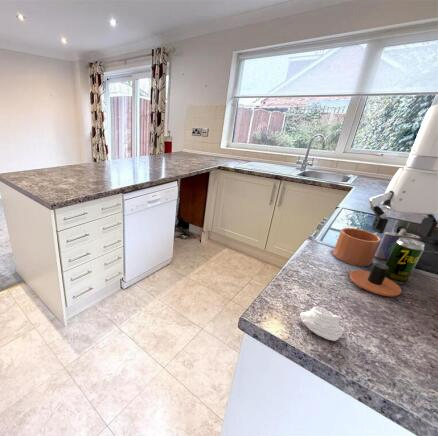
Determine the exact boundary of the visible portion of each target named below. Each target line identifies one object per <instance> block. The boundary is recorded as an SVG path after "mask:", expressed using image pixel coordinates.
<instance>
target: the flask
mask: <svg viewBox="0 0 438 436" xmlns="http://www.w3.org/2000/svg"><path fill="white" fill-rule="evenodd" d="M402 237H403V238H410V239H414V240H417V241H420V242H421V241H422V238H421V237H420V236H419V235H416V234H414V233H408V232H407V229H403V228H400V231H398V232H390V231H389V232H388V231H386V232H385V231H384V232H383V235H382V237H381V242H380V244H379V247H378V249H377V251H376V254H375V256H374V258H376V259H379V260H383V261H384V260H385V261H387V260H388V258H389V256H390V254H391V252H392V250H393V248H394V246H395V243H396V241H398V240H399V238H402Z"/></svg>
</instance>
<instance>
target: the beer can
mask: <svg viewBox="0 0 438 436" xmlns="http://www.w3.org/2000/svg"><path fill="white" fill-rule="evenodd" d="M425 246H426V245H425V243H424V242H422V241H421V240H420V241H417V240H414V239H410V238H403V237H402V238H399V240H398V241H396V243H395V246H394V248H393V250H392V252H391V254H390V256H389V258H388V260H386V262H385V265H386V266H388V267H389V271H388V273H387V275H386V278H388V279H390V280H392V281H393V282H395V283H396V284H397V285H403V284H405V283H407V282H408V281H409V279H410V277H411V275H412V273H413V271H414V269H415V268H416V266H417V264H418V262H419V260H420V259H421V257H422V254H423V252H424V250H425Z"/></svg>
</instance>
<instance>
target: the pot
mask: <svg viewBox="0 0 438 436" xmlns="http://www.w3.org/2000/svg"><path fill="white" fill-rule="evenodd" d="M381 240H382V237H380V236H379V235H377V234H376V233H373V232H370V231H367V230H364V229H359V228H353V227H343V228H341V229H340V232H339V234H338V238H337V240H336V243H335V246H334V249H333V256H334V257H335V258H336V259H338V260H340V261H342V262H344V263H346V264H350V265H354V266H358V267H369V266H370V265H371V264H372V263H373V261H374V258H375V257H374V256H375V254H376V251H377V249H378V247H379V244H380V242H381Z"/></svg>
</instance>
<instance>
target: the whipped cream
mask: <svg viewBox="0 0 438 436" xmlns="http://www.w3.org/2000/svg"><path fill="white" fill-rule="evenodd" d="M299 316H300V319H301V321H302V323H303V324H304V325H305V327H307V328H308V329H309V330H310V332H312V333H314V334H315V335H317V336H319V337H321V338H324V339H325V340H328V341H332V342H333V341H334V342H336V341H337V340H339V339H340V338H341V337H342V336H343V334H344V332H346V329H345V328H344V327H342V325H341V319H342V316H340V315H338V314H337V315H335V314H334V313H333V312H331V311H330V310H327V309H325V308H323V307H320V306H314V307H312V308H311V309H310V310H308V311H302V312H300V313H299Z"/></svg>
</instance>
